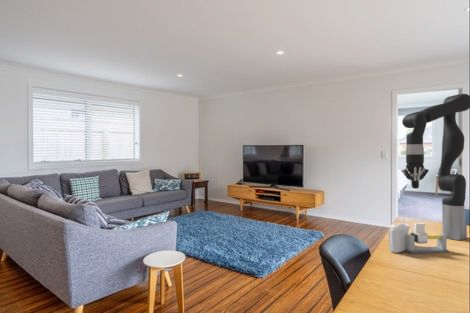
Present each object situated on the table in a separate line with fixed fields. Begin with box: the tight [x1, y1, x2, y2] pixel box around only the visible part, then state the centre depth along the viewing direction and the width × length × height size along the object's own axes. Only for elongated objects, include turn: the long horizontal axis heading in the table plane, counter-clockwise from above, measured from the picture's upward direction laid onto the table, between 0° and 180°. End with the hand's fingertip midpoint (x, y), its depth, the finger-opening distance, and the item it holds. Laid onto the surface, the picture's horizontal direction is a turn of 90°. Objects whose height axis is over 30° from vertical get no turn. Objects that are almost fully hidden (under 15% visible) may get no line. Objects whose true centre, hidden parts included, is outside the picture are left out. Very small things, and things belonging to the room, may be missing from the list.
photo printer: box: [388, 222, 407, 254], centre depth 131 cm, size 10×4×12 cm, turn 124°
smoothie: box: [401, 215, 411, 234], centre depth 139 cm, size 6×6×14 cm
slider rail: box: [404, 232, 449, 255], centre depth 129 cm, size 17×5×8 cm, turn 93°
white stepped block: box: [411, 222, 428, 245], centre depth 129 cm, size 4×4×8 cm
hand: (415, 188), depth 142 cm, fingers closed
